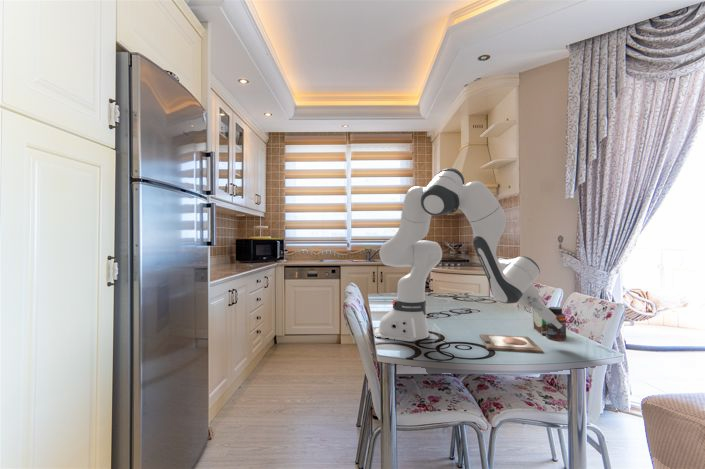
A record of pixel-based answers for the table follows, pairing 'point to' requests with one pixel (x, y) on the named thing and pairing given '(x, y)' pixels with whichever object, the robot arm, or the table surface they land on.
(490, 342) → the clipboard
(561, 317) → the supplement bottle
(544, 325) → the food container
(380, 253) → the robot arm
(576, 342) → the table surface
